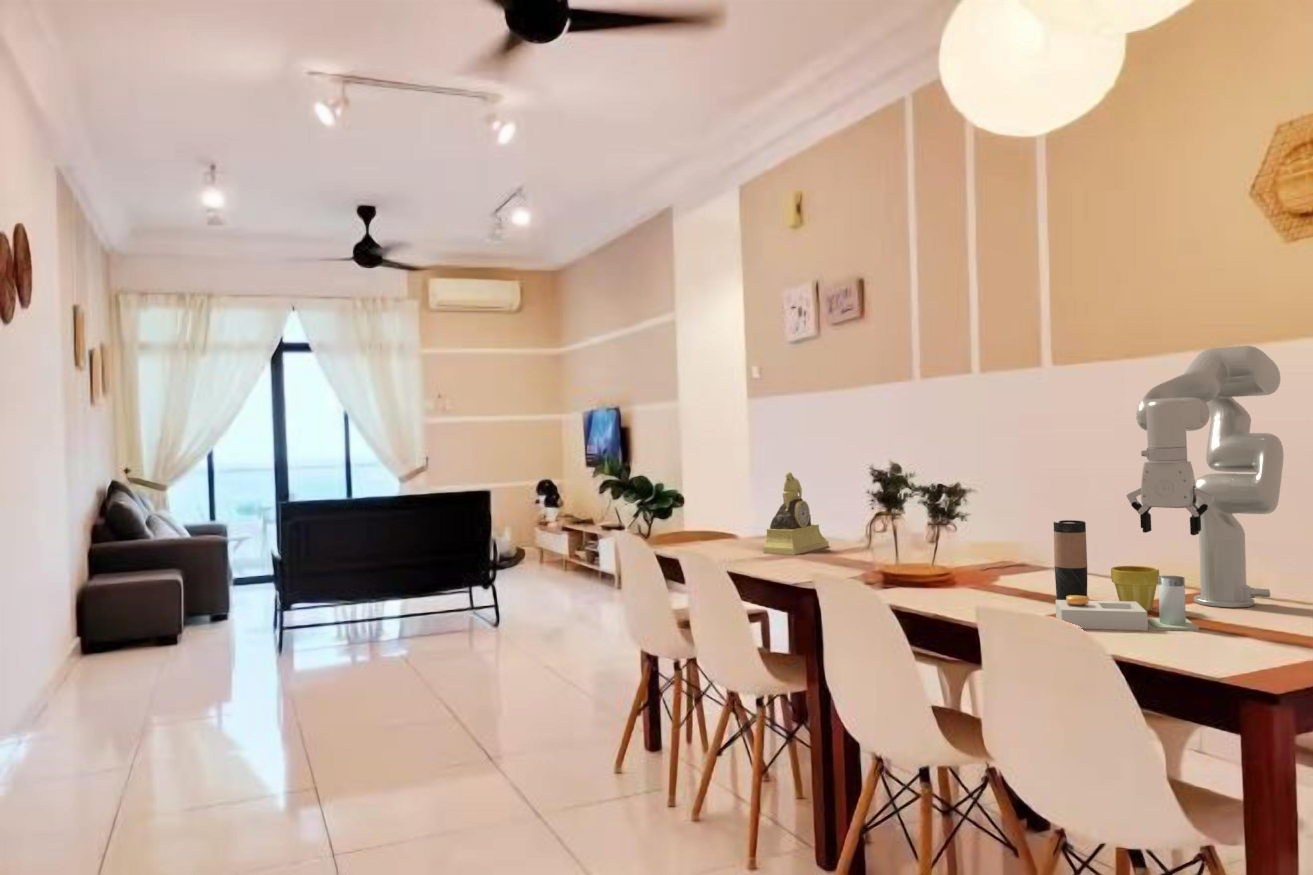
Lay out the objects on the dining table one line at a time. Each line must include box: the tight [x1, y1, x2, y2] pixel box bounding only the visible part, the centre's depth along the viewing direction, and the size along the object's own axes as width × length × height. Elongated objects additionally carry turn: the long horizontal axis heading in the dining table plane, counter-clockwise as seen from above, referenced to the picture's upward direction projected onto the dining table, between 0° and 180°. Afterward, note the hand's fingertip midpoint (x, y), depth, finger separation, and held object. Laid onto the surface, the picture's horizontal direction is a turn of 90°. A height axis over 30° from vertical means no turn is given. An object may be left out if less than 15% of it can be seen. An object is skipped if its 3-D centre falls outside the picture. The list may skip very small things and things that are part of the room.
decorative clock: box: [762, 471, 830, 556], centre depth 348 cm, size 28×13×30 cm, turn 143°
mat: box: [1147, 617, 1200, 632], centre depth 201 cm, size 8×10×1 cm
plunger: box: [1066, 595, 1090, 607], centre depth 207 cm, size 5×5×4 cm
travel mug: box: [1053, 519, 1088, 600], centre depth 233 cm, size 8×8×20 cm
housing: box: [1055, 599, 1149, 631], centre depth 205 cm, size 17×12×4 cm
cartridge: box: [1158, 575, 1187, 625], centre depth 201 cm, size 5×5×10 cm
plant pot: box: [1110, 565, 1160, 612], centre depth 220 cm, size 10×10×10 cm
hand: (1170, 533), depth 201 cm, fingers open, 9 cm apart
